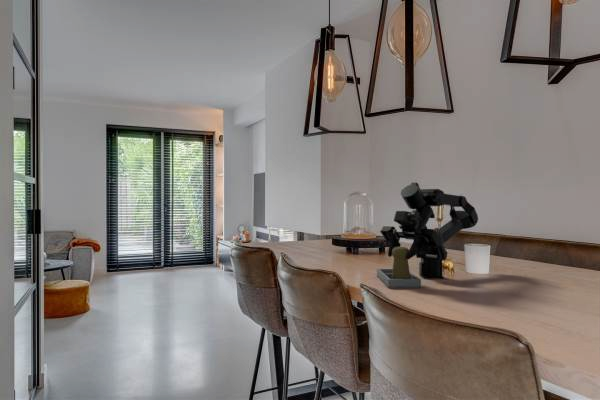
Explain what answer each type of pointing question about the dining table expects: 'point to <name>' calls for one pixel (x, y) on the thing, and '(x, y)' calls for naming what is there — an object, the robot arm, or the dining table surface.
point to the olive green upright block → (400, 263)
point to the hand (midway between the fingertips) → (397, 257)
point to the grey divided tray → (398, 280)
